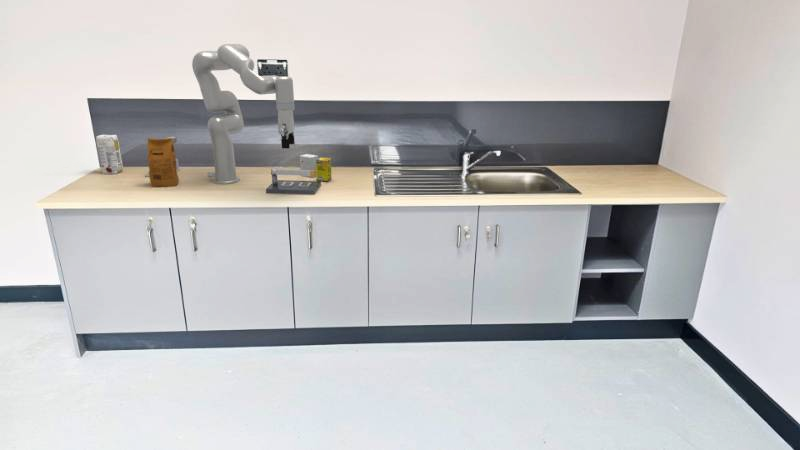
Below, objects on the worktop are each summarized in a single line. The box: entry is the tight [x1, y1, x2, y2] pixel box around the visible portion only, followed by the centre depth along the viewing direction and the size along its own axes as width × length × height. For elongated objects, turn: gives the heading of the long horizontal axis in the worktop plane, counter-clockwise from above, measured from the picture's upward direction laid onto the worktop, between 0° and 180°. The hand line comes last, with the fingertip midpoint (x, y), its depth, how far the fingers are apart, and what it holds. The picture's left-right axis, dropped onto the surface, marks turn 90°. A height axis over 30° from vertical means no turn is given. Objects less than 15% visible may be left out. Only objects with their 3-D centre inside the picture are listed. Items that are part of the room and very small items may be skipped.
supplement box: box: [316, 157, 332, 183], centre depth 247 cm, size 6×6×11 cm
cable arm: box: [270, 168, 316, 177], centre depth 230 cm, size 20×3×2 cm, turn 88°
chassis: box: [265, 175, 322, 196], centre depth 232 cm, size 22×16×6 cm
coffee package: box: [147, 137, 180, 188], centre depth 232 cm, size 10×12×22 cm
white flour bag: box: [95, 134, 124, 175], centre depth 251 cm, size 8×9×19 cm
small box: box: [299, 153, 319, 179], centre depth 255 cm, size 8×6×10 cm
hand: (288, 146), depth 219 cm, fingers open, 9 cm apart
